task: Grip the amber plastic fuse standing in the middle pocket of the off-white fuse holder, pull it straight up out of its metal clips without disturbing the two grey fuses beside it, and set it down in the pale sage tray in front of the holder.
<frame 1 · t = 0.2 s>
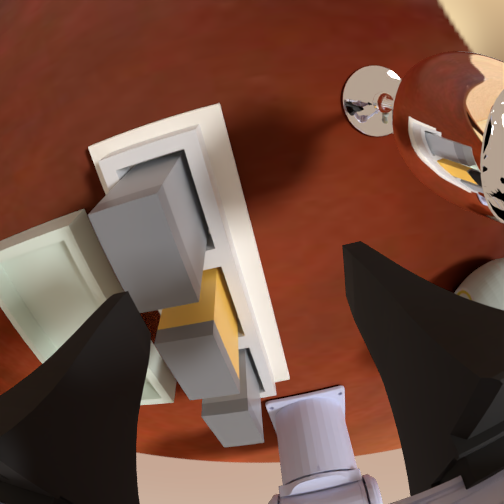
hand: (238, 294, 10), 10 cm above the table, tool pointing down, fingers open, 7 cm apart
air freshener: (474, 292, 25), on the table
tray: (81, 320, 24), on the table
grey fuse 2: (233, 356, 25), point 1 cm above the table, touching fuse holder
grey fuse 1: (172, 196, 18), point 1 cm above the table, touching fuse holder
fuse holder: (207, 285, 22), on the table
wineglass: (375, 100, 17), on the table
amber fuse: (206, 291, 22), point 1 cm above the table, touching fuse holder
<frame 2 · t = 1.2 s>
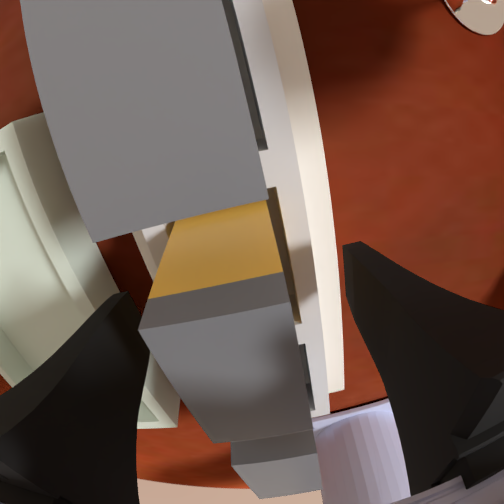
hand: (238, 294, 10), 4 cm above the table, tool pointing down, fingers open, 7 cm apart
tray: (41, 303, 15), on the table
grey fuse 2: (269, 359, 17), point 1 cm above the table, touching fuse holder
grey fuse 1: (190, 74, 10), point 1 cm above the table, touching fuse holder
fuse holder: (237, 240, 14), on the table
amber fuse: (237, 247, 13), point 1 cm above the table, touching fuse holder
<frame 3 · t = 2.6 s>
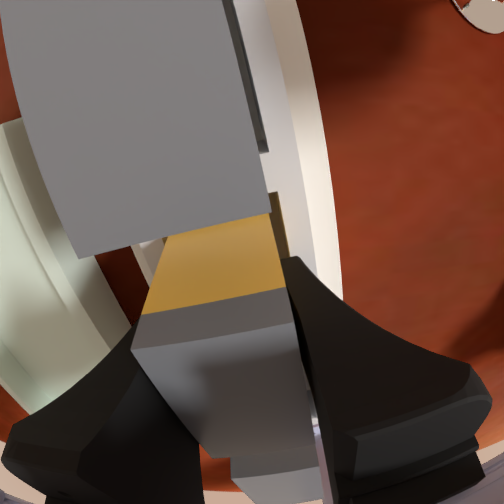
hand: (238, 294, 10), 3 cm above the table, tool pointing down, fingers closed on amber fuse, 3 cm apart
tray: (36, 308, 14), on the table
grey fuse 2: (269, 366, 16), point 1 cm above the table, touching fuse holder
grey fuse 1: (187, 72, 9), point 1 cm above the table, touching fuse holder
fuse holder: (236, 246, 13), on the table
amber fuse: (236, 253, 13), point 1 cm above the table, touching fuse holder, gripper
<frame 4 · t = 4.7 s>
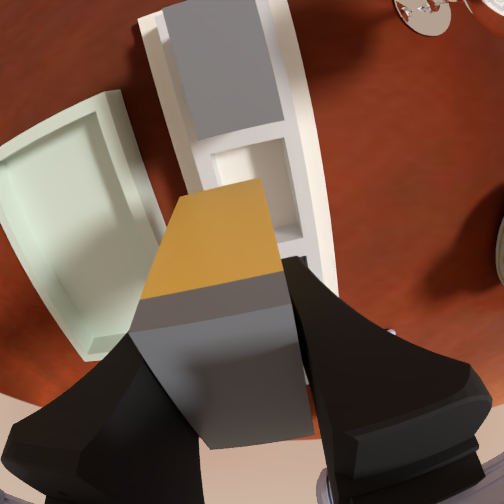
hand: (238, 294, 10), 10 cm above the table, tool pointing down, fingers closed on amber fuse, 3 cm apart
tray: (95, 240, 21), on the table
grey fuse 1: (227, 68, 15), point 1 cm above the table, touching fuse holder
fuse holder: (256, 182, 19), on the table
wineglass: (421, 5, 14), on the table
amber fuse: (235, 246, 13), point 7 cm above the table, touching gripper
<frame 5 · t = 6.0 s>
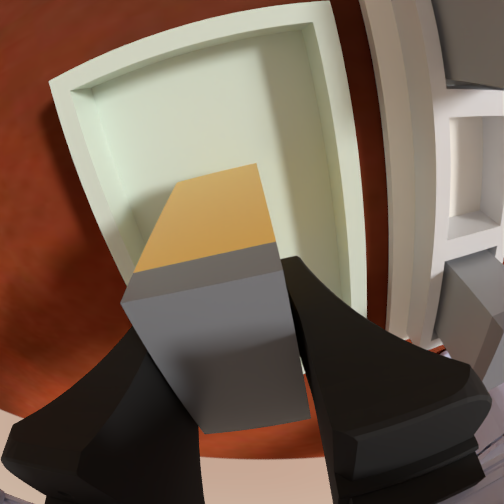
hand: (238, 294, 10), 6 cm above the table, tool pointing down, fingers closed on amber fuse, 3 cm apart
tray: (236, 221, 15), on the table
grey fuse 2: (448, 276, 17), point 1 cm above the table, touching fuse holder
grey fuse 1: (444, 27, 10), point 1 cm above the table, touching fuse holder
fuse holder: (450, 161, 14), on the table
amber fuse: (232, 232, 13), point 2 cm above the table, touching gripper
when the fingers open (4 cm above the table, at t = 6.9 s): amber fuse stays where it is, resting on tray.
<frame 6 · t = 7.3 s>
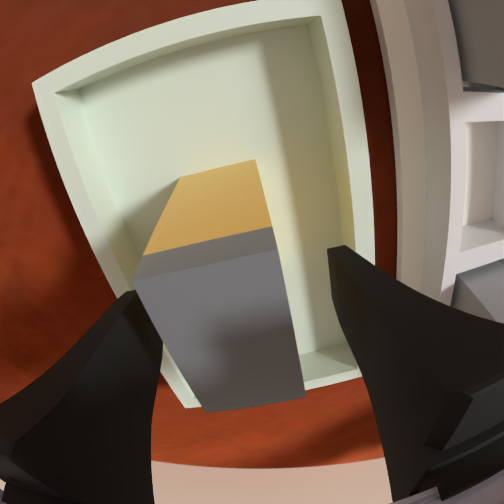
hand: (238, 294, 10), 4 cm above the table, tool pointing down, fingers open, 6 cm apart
tray: (236, 232, 14), on the table
grey fuse 2: (457, 287, 16), point 1 cm above the table, touching fuse holder
grey fuse 1: (458, 25, 9), point 1 cm above the table, touching fuse holder
fuse holder: (463, 167, 13), on the table
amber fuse: (232, 224, 13), resting on tray
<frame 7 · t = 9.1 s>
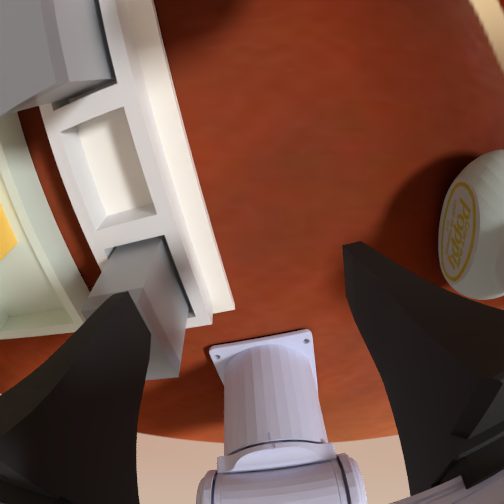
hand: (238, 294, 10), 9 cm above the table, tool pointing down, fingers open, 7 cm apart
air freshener: (474, 208, 20), on the table
grey fuse 2: (157, 266, 20), point 1 cm above the table, touching fuse holder
grey fuse 1: (87, 47, 13), point 1 cm above the table, touching fuse holder
fuse holder: (122, 159, 17), on the table
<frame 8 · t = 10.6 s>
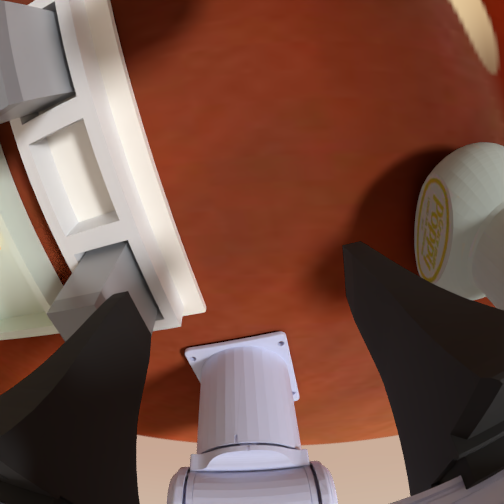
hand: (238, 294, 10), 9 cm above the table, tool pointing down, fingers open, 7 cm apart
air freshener: (455, 205, 20), on the table
grey fuse 2: (127, 270, 20), point 1 cm above the table, touching fuse holder
grey fuse 1: (53, 62, 13), point 1 cm above the table, touching fuse holder
fuse holder: (89, 167, 17), on the table
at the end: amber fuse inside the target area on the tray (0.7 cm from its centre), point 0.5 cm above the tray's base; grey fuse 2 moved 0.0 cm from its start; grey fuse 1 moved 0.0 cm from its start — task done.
